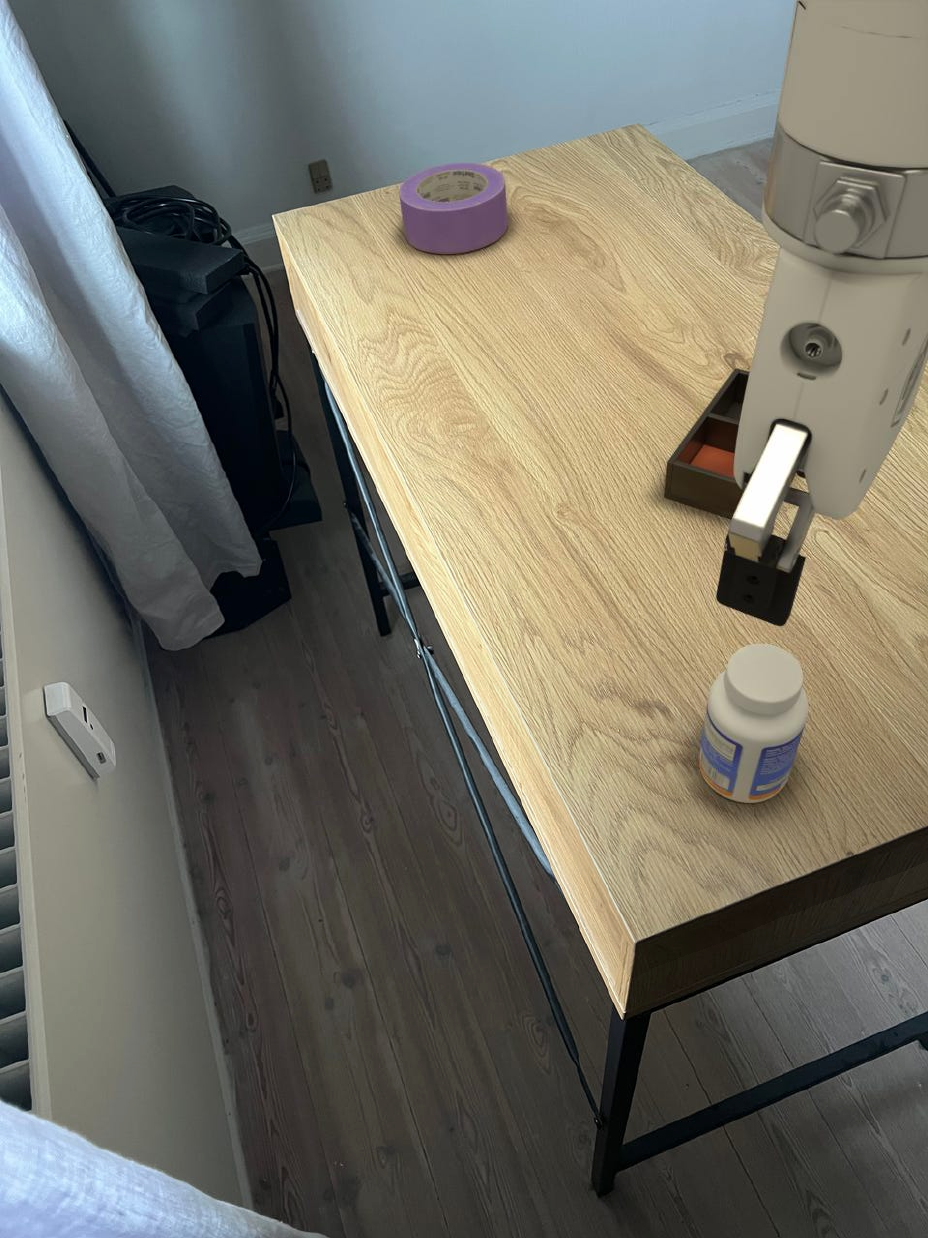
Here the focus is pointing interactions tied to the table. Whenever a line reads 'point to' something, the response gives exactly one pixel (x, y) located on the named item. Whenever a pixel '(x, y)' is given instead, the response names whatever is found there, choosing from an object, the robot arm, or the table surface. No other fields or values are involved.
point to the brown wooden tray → (710, 454)
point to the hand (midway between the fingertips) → (791, 542)
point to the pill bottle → (753, 724)
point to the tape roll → (454, 208)
